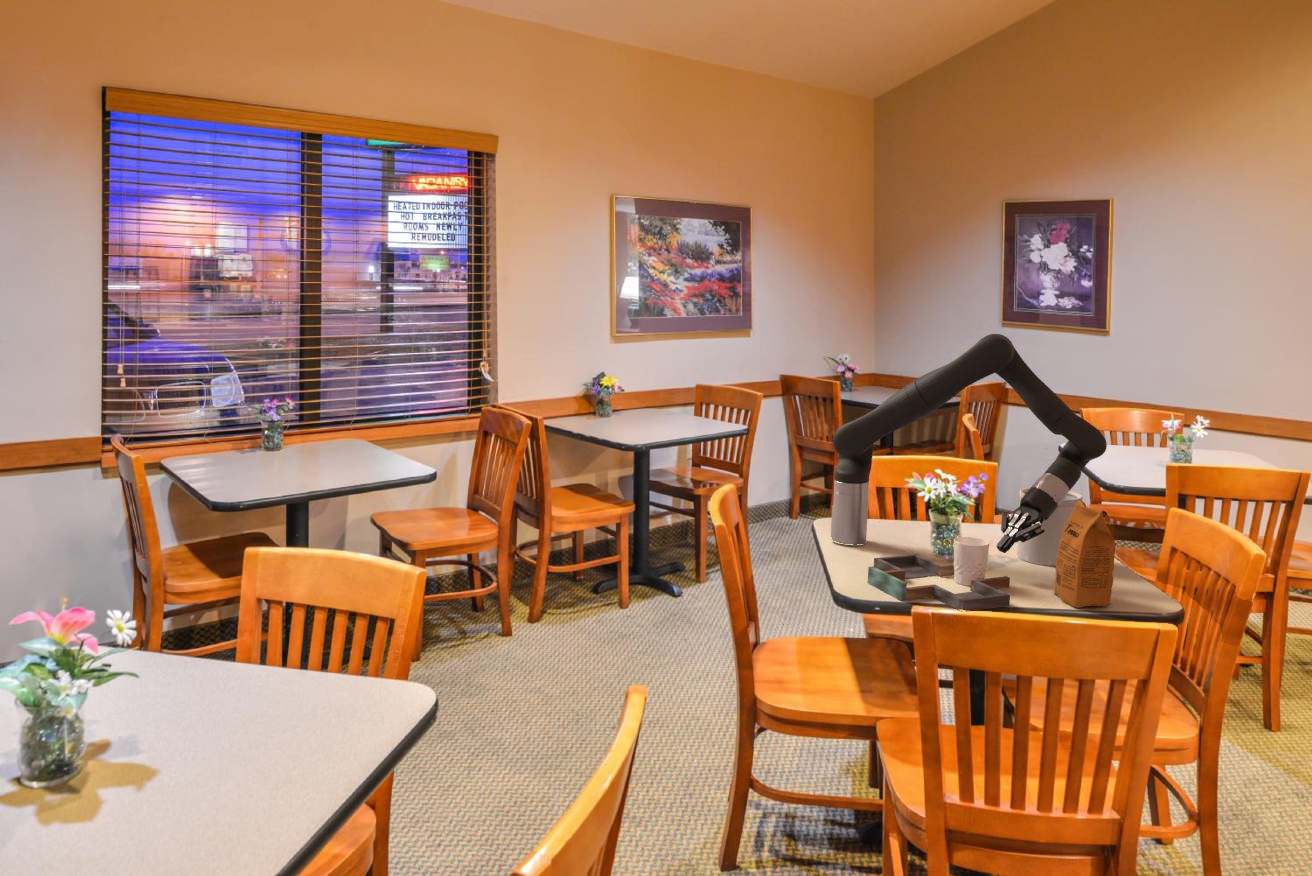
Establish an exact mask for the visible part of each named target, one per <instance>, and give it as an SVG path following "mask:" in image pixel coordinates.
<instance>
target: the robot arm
mask: <svg viewBox="0 0 1312 876" xmlns="http://www.w3.org/2000/svg"><path fill="white" fill-rule="evenodd" d="M993 374H996V375H997V376H998V377H1000V378H1001V379H1003V381H1005V382H1006V383H1007V384H1008V385H1009V386H1010V387H1011V388H1012V389H1013V391H1014V392H1015V393H1016V394H1017V395H1018V396H1019V397H1020V399H1021V400H1022V401H1023V403H1024V404H1025V405H1026V406H1027V407H1028V410H1030V411H1031V413H1032V414H1033V415H1034V416H1035V417H1036V418H1037V420H1039V421H1040V422H1041V423H1042V424H1043V426H1045V427H1046V428H1047V430H1049V432H1051V433H1052V434H1054V435H1059V436H1063V437H1064V438H1065V439H1066V440H1068V441H1066V443H1065V444H1064V445H1063V447H1062V448H1061V450H1060V452H1059V453H1058V454H1057V456H1056V458H1055V460H1054V461H1053V462H1052V464H1050V465H1049V467H1048V468H1047V469H1046V470H1045V471H1044V473H1043V474H1042V475H1040V476H1039V478H1038V479H1036V480H1035V482H1034V483H1033V484H1032V485H1031V486H1030V487H1031V488H1030V489H1029V490H1028V492H1027V493H1026V494H1025V495H1024V496H1023V498H1022V499H1021V500H1020V499H1019V506H1018V507H1017V508H1016V509H1014V510H1013V512H1012V513H1009V514H1008V513H1007V512H1003V513H1002V514H1001V522H1000V524H1001V525H1000V531H1001V532H1002V533H1003V536H1002V537H1001V538H1000V540H999V541H998V542H997V544H996V549H997V550H998V551H999V552H1001V553H1003V554H1006V553H1007V552H1008V551H1010V549H1011V548H1012V547H1013V546H1014V545H1015V543H1017V542H1018V541H1021V542H1025V541H1028V540H1030V539H1032V538H1034V537H1036V536H1038V535H1040V534H1042V533H1044V532H1045V530H1044V528H1043V527H1042V523H1043V520H1047V519H1048V518H1049V517H1050V516H1051V515H1052V513H1053V512H1054V511H1055V510H1056V509H1057V507H1058V506H1059V505H1060V504H1061V502H1062V501H1063V500H1064V499H1065V497H1066V495H1067V494H1068V492H1069V491H1072V489H1073V487H1075V485H1076V484H1077V482H1078V481H1079V479H1080V478H1081V476H1082V471H1083V469H1084V468H1085V467H1086V466H1087V465H1088V463H1090V462H1091V461H1093V460H1095V459H1097V458H1100V457H1101V456H1103V454H1105V452H1107V451H1106V450H1107V447H1108V446H1107V440H1106V438H1105V436H1104V434H1103V433H1102V432H1101V431H1100V430H1099V429H1098V428H1097V427H1096V426H1094V425H1092V423H1090V422H1089V421H1087V420H1086V419H1084V418H1082V417H1081V416H1079V415H1077V414H1076V413H1075V412H1074V411H1073V410H1072V409H1071V407H1069V405H1068V404H1066V403H1065V402H1064V401H1063V400H1062V398H1060V396H1058V395H1057V394H1056V393H1055V392H1054V391H1053V390H1052V388H1050V387H1049V386H1048V385H1047V384H1046V383H1044V381H1043V380H1042V379H1041V378H1039V376H1038V375H1037V374H1035V373H1034V372H1033V370H1032V369H1031V368H1030V367H1029V366H1028V364H1027V363H1026V362H1025V361H1024V360H1023V358H1022V356H1021V355H1020V354H1019V352H1018V350H1017V349H1016V348H1015V346H1014V345H1013V342H1012V341H1011V339H1010V338H1008V337H1007V336H1005V335H1003V334H1001V333H991V334H988V335H985V336H984V337H982V338H981V339H980V340H978V341H977V342H976V343H975V344H974V345H973V346H972V347H970V348H969V349H967V350H966V351H964V352H963V353H962V354H961V355H960V356H958V357H957V358H955V359H954V360H952V361H951V362H949V363H947V364H944V365H942V366H941V367H938V368H936V369H933V370H932V371H929V372H927V373H926V374H923V375H921V376H920V377H918V378H916V379H915V380H913V381H912V382H910V383H908V384H906V385H905V386H903V387H902V388H900V389H899V390H898V391H896V392H895V393H894V394H892V395H890V396H889V397H888V398H887V399H886V400H884V401H883V402H882V403H880V405H878V406H877V407H876V408H874V409H872V410H871V411H870V412H868V413H865V414H864V415H862V416H860V417H858V418H856V419H854V420H851V421H848V422H846V423H844V424H842V425H840V426H839V427H838V428H837V429H836V431H835V432H834V435H833V438H832V445H833V448H834V450H835V452H836V453H837V454H838V459H837V464H836V467H835V470H834V482H833V483H834V485H833V486H834V487H833V504H832V506H831V526H830V529H831V530H830V538H831V537H832V539H831V541H832V540H833V541H836V542H839V543H843V544H853V545H857V544H864V543H865V542H866V543H867V534H868V533H867V530H868V512H869V511H868V510H869V493H870V492H869V491H870V490H869V489H870V488H869V487H870V476H871V470H872V467H873V466H872V465H873V454H874V453H873V451H874V444H875V443H877V442H878V441H880V439H882V438H884V437H885V436H888V435H889V434H891V433H893V432H895V431H898V430H899V429H901V428H904V427H906V426H909V425H911V424H912V423H915V422H916V421H919V420H921V419H922V418H924V417H926V416H927V415H929V414H931V413H933V412H935V411H936V410H937V409H939V408H941V407H942V406H944V405H945V404H947V403H948V402H949V401H950V400H952V399H953V398H954V397H955V396H957V395H958V394H959V393H960V392H962V391H963V390H965V389H966V388H968V387H969V386H971V385H973V384H975V383H977V382H979V381H980V380H984V379H985V378H987V377H988V376H991V375H993ZM1027 534H1028V535H1027ZM1026 535H1027V536H1026ZM1024 536H1025V537H1024ZM864 545H865V544H864Z"/></svg>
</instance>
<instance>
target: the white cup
mask: <svg viewBox="0 0 1312 876" xmlns="http://www.w3.org/2000/svg"><path fill="white" fill-rule="evenodd" d="M989 549H990V541H988V540H986V539H983V538H979V537H972V536H959V537H955V538H954V539H953V564H954V577H953V581H954V582H955V583H956V584H958V583H959V584H958V585H962V586H966V587H971V580H978V579H986V578H985V577H986V573H987V565H988V558H989Z"/></svg>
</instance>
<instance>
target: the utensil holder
mask: <svg viewBox="0 0 1312 876" xmlns="http://www.w3.org/2000/svg"><path fill="white" fill-rule="evenodd" d="M1031 487H1032V486H1030V487H1024V488H1020V489H1019V501H1020V500H1021V499H1022V498H1023V496H1024V495H1025V494H1026V493H1027V492H1028V490H1029V489H1030V488H1031ZM1078 500H1082V501H1083V495H1082V494H1080V493H1079V492H1076V491H1072V490H1070V491H1069V492H1068V494H1067V495H1066V497H1065V499H1064V500H1063V501H1062V502H1061V504H1060V505H1059V506H1058V507H1057V509H1056V510H1055V511H1054V512H1053V513H1052V515H1051V516H1050V517H1049V518H1048V519H1047V520H1043V523H1042V527H1043V528H1044V530H1045V532H1044V533H1042V534H1040V535H1038V536H1036V537H1034V538H1032V539H1030V540H1028V541H1025V542H1021V541H1018V542H1016V543H1017V546H1016V548H1017V549H1016V555H1017V558H1018V559H1020V560H1021V561H1024V562H1027V563H1031V564H1034V565H1039V566H1045V567H1056V559H1057V555H1058V550H1059V545H1060V540H1061V537H1062V533H1063V531H1064V528H1065V525H1066V523H1067V521H1068V520H1069V518H1070V515H1071V513H1072V511H1073V509H1074V508H1075V505H1076V503H1077V501H1078ZM1027 535H1028V534H1027ZM1027 535H1026V536H1027ZM1024 537H1025V536H1024Z"/></svg>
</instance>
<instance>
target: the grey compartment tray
mask: <svg viewBox="0 0 1312 876" xmlns="http://www.w3.org/2000/svg"><path fill="white" fill-rule="evenodd" d="M867 568H868V570H867V584H868V583H869V585H870V586H872V587H874V588H875V589H878V590H879V591H881V592H883V593H885V594H887V595H889V596H891V597H892V598H895V599H897V600H898V601H901V602H904V601H913V600H920V599H922V600H923V599H928V598H932V599H933V598H934V599H936V600H937V601H939V602H941V603H944V604H946V605H947V606H950V607H951V608H954V609H955V608H956V610H958V609H963V610H974V611H980V610H988V609H995V608H1003V607H1010V602H1011V601H1010V600H1011V594H1009V593H1007V592H1004V591H1002V590H1003V589H1004V590H1005V589H1010V587H1011V586H1010V584H1011V577H1010V576H1006V575H1005V576H998V577H997V576H996V577H989V578H985V579H978V580H971V586H970V588H969V589H970V590H969V591H966V592H958V593H954V592H951V591H949V590H948V589H945V588H943V587H941V586H939V585H936V584H927V585H926V584H925V585H917V586H909V587H908V585H907V584H908V583H907V582H905V581H906V580H909V579H918V578H926V577H928V576H929V577H939V576H940V578H943V576H945V577H951V576H952V575H954V563H951V564H949V563H948V564H940V563H938V562H936V561H933V560H931V559H928V558H927V557H924V556H922V555H920V554H917V553H913V554H911V553H910V554H901V555H894V556H885V557H884V556H882V557H881V556H880V557H874V558H873V565H872V566H868V567H867Z"/></svg>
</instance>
